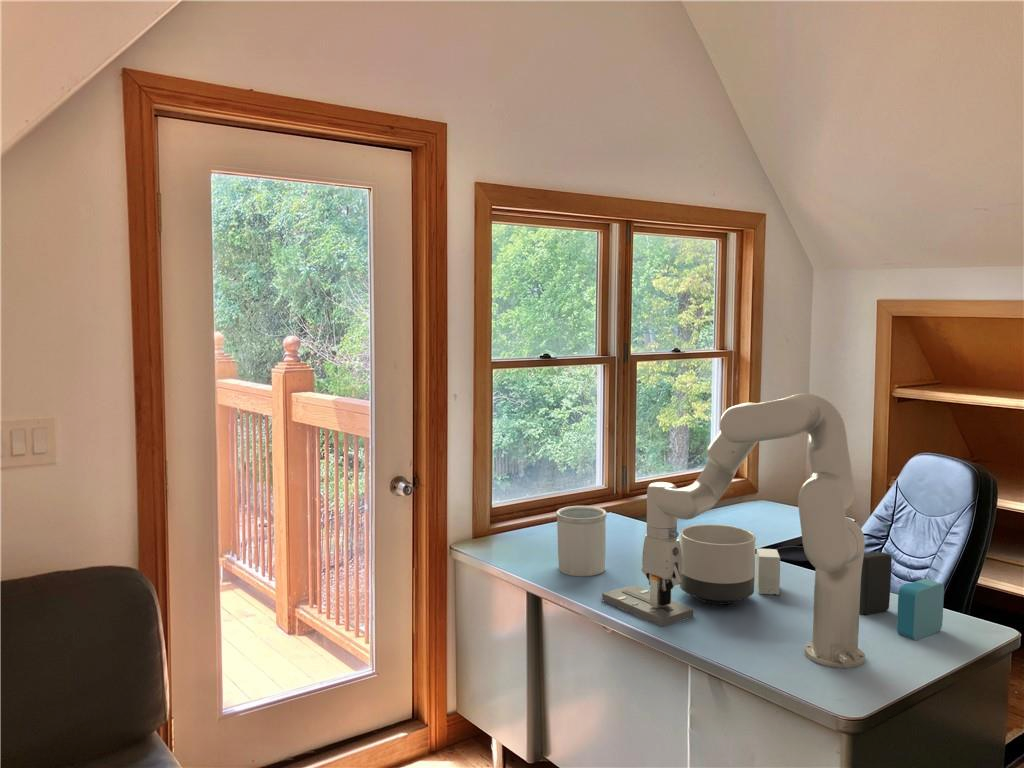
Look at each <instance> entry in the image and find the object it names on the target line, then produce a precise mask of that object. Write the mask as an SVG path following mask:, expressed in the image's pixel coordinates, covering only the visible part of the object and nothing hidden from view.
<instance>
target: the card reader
mask: <svg viewBox="0 0 1024 768" xmlns="http://www.w3.org/2000/svg"><path fill="white" fill-rule="evenodd" d="M892 562H893V560H892V555H891V554H889V553H887V552H883V551H878V552H871V553H870V552H869V553H864V557H863V564H862V573H861V590H860V610H859V615H863V616H866V615H872V613H873V614H878V613H883V612H887V611H888V610H889V609H890V600H891V585H892V584H891V582H892V581H891V580H892Z"/></svg>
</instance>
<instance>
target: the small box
mask: <svg viewBox="0 0 1024 768" xmlns="http://www.w3.org/2000/svg"><path fill="white" fill-rule="evenodd" d="M755 565H756V566H755V585H756V590H757V592H758V594H759V595H760V594H761V595H773V594H776V595H778V596H779V595H780V590H781V589H780V583H781V581H780V580H781V556H780V554H779V552H778V549H773V548H758V547H757V548H756V553H755ZM776 595H775V596H776Z"/></svg>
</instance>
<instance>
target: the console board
mask: <svg viewBox="0 0 1024 768" xmlns="http://www.w3.org/2000/svg"><path fill="white" fill-rule="evenodd" d="M601 596H602V597H601V598H602V599H601V601H602V600H604V601H603V602H605V603H607V602H608V604H609V603H610V604H609V605H611V604H613V605H612V606H614V605H615V606H614V607H616V606H617V608H618V607H620V608H619V609H621V608H622V609H621V610H623V609H624V610H623V611H625V610H627V611H629V612H628V613H630V612H632V613H633V615H634V614H636V615H635V616H637V615H638V616H637V617H639V616H640V617H639V618H641V617H642V618H641V619H643V618H644V619H643V620H647V621H648V622H651V623H653V624H656V625H658V626H660V627H662V628H663V627H666V625H667V626H670V625H672V623H673V624H676V623H678V621H679V622H682V621H685V620H688V619H691V618H694V612H695V611H694V608H692V607H690V606H687V605H684V604H682V603H679V602H676V601H675V600H672V599H671V604H669V605H666V606H663V607H659V608H655V607H653V606H650V590H647V589H644V588H642V587H639V586H637V585H634V584H630V585H628V586H627V585H626V586H624V587H620V588H616V589H613V590H609V591H605V592H602V595H601ZM627 611H626V612H627ZM632 613H631V614H632ZM687 618H688V619H687ZM684 619H685V620H684ZM675 622H676V623H675ZM669 624H670V625H669Z"/></svg>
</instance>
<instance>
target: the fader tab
mask: <svg viewBox="0 0 1024 768" xmlns="http://www.w3.org/2000/svg"><path fill="white" fill-rule="evenodd" d="M667 583H668V581H667ZM660 590H662V578H660V577H657V576H655V575H650V585H649V592H650V606H653V607H655V608H659V607H663V606H661V605H660ZM670 604H671V602H670ZM667 605H669V604H667ZM664 606H666V605H664Z"/></svg>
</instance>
